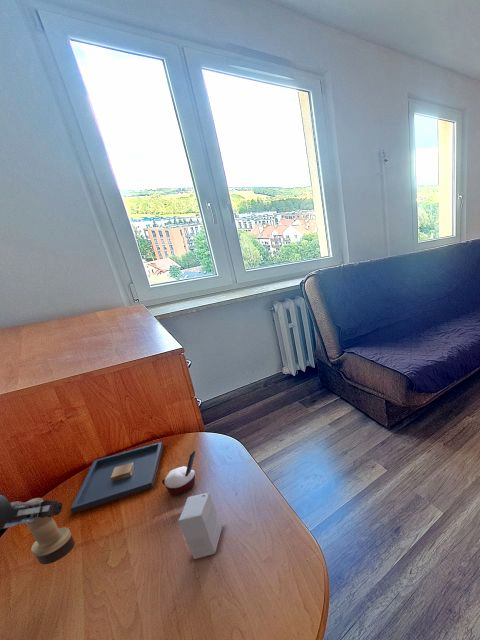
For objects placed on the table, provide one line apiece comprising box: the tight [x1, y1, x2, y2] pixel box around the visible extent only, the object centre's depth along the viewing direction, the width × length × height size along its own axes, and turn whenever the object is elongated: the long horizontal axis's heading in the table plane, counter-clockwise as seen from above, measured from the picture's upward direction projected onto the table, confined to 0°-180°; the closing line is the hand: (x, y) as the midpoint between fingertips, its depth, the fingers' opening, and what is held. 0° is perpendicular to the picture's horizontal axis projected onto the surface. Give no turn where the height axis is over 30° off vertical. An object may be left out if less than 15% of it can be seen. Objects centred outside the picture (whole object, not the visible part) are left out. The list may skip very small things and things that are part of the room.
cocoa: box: [161, 450, 196, 496], centre depth 85 cm, size 10×6×12 cm, turn 70°
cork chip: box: [111, 463, 135, 482], centre depth 91 cm, size 4×4×2 cm
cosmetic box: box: [178, 491, 223, 560], centre depth 72 cm, size 6×4×12 cm
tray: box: [70, 441, 164, 514], centre depth 91 cm, size 16×18×2 cm
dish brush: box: [25, 497, 76, 565], centre depth 65 cm, size 5×5×13 cm
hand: (47, 510), depth 65 cm, fingers closed on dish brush, 3 cm apart
